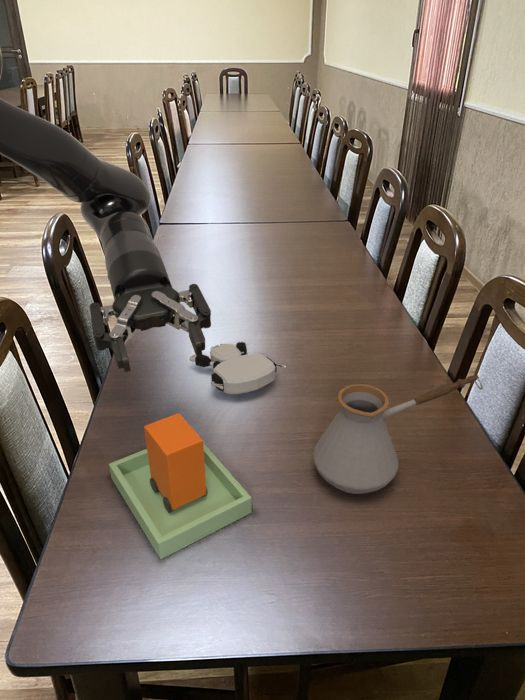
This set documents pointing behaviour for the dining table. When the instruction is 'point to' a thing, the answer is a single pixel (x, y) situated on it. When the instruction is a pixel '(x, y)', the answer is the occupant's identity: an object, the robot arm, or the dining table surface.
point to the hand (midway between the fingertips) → (163, 359)
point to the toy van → (175, 461)
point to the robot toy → (237, 368)
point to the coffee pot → (365, 438)
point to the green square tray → (187, 520)
